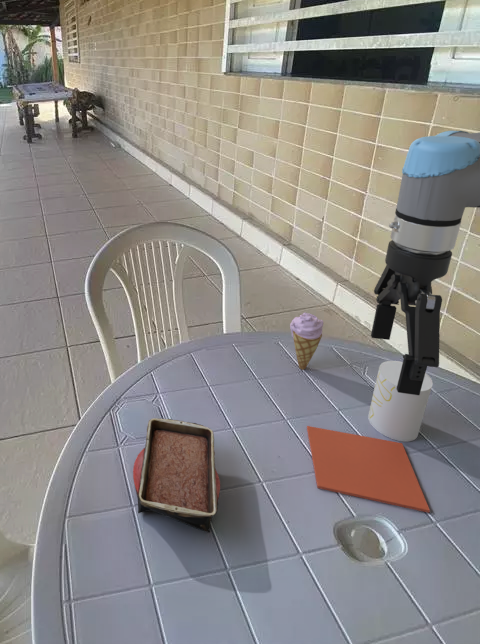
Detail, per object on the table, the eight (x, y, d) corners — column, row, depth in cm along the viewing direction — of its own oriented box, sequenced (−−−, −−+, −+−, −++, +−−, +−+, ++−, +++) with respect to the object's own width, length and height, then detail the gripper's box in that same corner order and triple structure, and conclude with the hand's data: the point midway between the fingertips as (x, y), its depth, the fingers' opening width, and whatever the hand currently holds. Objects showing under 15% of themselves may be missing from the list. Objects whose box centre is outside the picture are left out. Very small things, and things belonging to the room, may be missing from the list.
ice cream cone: (286, 373, 97) (293, 318, 92) (284, 356, 103) (290, 303, 98) (318, 378, 95) (327, 322, 90) (314, 360, 101) (322, 306, 95)
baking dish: (222, 469, 78) (221, 421, 76) (218, 561, 62) (216, 503, 60) (146, 457, 83) (142, 411, 81) (123, 539, 66) (118, 484, 64)
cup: (368, 402, 88) (378, 356, 84) (416, 417, 84) (430, 368, 80) (368, 431, 82) (379, 382, 77) (420, 448, 78) (435, 397, 73)
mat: (401, 445, 78) (402, 443, 78) (429, 513, 67) (430, 510, 67) (306, 427, 83) (307, 425, 83) (317, 488, 72) (317, 485, 71)
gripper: (367, 214, 74) (348, 317, 81) (423, 284, 52) (391, 416, 59) (417, 216, 71) (393, 322, 79) (499, 289, 49) (455, 426, 57)
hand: (392, 362), depth 69 cm, fingers open, 13 cm apart
